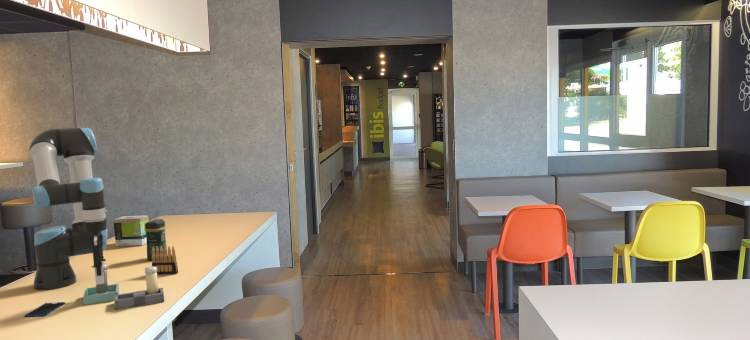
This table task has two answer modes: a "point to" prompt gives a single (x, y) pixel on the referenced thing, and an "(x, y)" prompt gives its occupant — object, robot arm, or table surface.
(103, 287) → the fuse
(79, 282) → the table surface
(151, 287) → the white rounded cylinder
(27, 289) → the table surface
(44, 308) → the cell phone
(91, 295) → the parts tray
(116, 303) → the block
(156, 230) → the coffee jar
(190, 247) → the table surface
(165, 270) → the ammunition clip
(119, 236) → the tea box
